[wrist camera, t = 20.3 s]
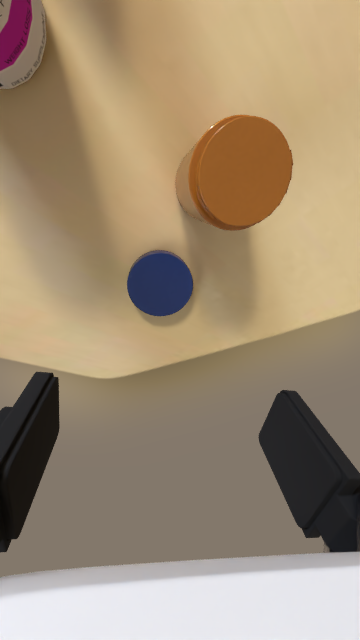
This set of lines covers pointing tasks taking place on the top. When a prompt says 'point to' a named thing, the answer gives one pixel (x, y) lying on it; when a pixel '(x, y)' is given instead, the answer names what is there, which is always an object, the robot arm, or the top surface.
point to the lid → (159, 283)
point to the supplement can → (20, 40)
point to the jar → (235, 173)
